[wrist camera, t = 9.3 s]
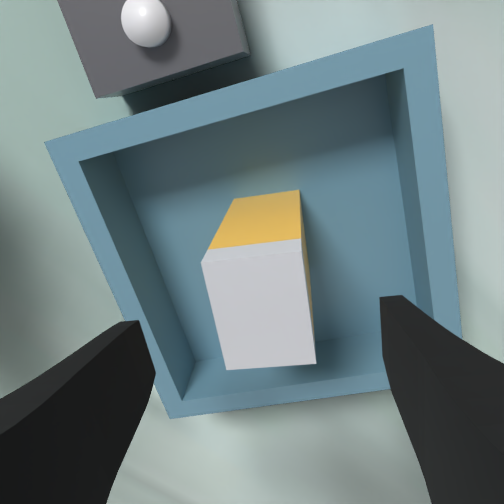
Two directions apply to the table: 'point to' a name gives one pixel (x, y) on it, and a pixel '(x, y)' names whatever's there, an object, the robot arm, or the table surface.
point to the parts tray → (267, 182)
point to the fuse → (261, 283)
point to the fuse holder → (152, 40)
